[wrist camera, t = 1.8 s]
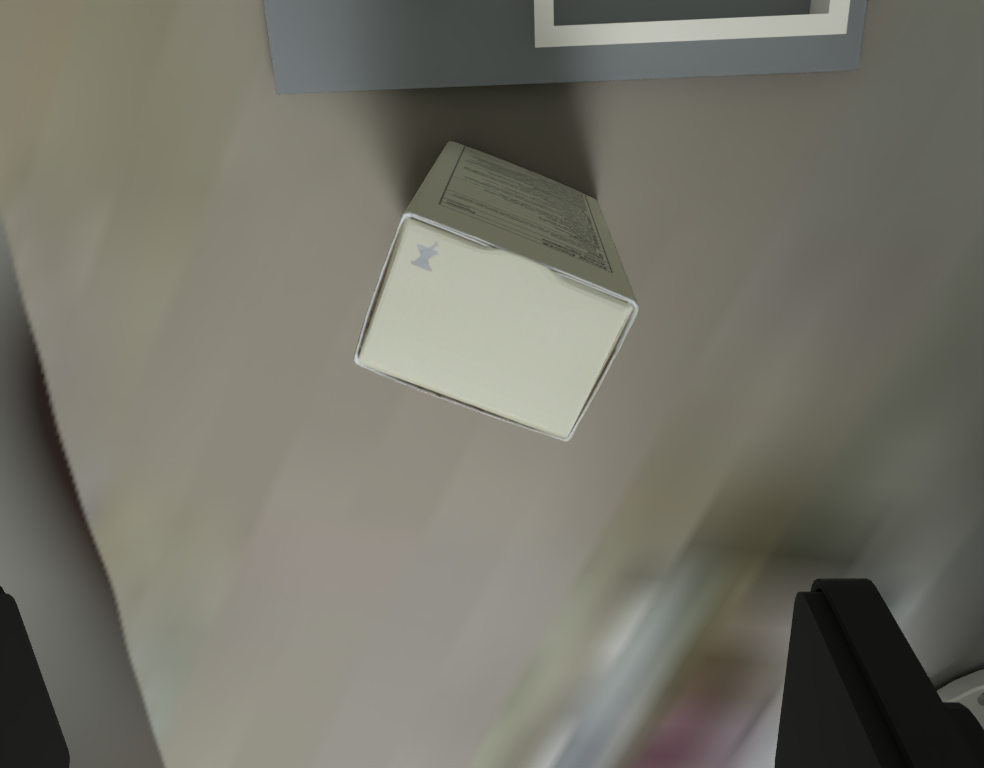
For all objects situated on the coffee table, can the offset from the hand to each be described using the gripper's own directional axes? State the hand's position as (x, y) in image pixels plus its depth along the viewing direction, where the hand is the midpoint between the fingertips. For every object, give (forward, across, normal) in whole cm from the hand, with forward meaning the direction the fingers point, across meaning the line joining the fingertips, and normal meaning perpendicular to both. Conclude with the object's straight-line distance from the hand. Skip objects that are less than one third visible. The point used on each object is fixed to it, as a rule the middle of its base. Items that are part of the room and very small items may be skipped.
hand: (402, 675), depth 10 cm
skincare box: (+24, 0, 0) cm, 24 cm away
